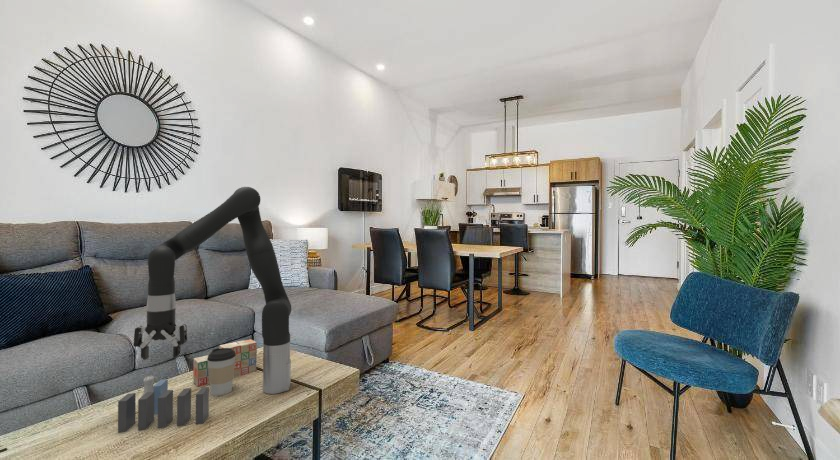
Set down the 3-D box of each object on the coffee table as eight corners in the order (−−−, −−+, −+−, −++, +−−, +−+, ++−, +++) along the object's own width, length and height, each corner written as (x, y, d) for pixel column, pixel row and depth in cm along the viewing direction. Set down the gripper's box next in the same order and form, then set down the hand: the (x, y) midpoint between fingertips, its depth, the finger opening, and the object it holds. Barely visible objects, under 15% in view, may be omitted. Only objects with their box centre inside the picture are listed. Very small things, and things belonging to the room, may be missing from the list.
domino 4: (190, 416, 112) (191, 388, 112) (184, 425, 107) (184, 395, 107) (183, 417, 111) (183, 388, 111) (176, 426, 106) (177, 396, 106)
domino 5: (208, 415, 113) (208, 386, 113) (203, 423, 108) (203, 393, 108) (201, 415, 112) (201, 387, 112) (195, 424, 107) (195, 394, 107)
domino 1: (135, 422, 108) (135, 393, 108) (126, 431, 103) (126, 400, 103) (127, 423, 108) (127, 393, 108) (117, 432, 103) (118, 401, 103)
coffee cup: (241, 387, 132) (241, 347, 132) (220, 398, 123) (220, 355, 123) (222, 384, 135) (222, 344, 135) (200, 394, 126) (201, 352, 126)
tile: (167, 406, 118) (167, 379, 118) (160, 414, 113) (160, 385, 113) (160, 406, 118) (160, 379, 117) (153, 414, 113) (153, 386, 113)
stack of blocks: (197, 387, 132) (197, 354, 132) (193, 382, 137) (193, 350, 136) (256, 371, 147) (256, 341, 147) (251, 367, 152) (251, 338, 152)
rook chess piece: (147, 404, 119) (148, 380, 119) (137, 402, 120) (137, 379, 120) (160, 397, 124) (160, 374, 124) (149, 396, 125) (149, 373, 124)
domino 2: (154, 420, 109) (154, 391, 109) (145, 429, 104) (146, 399, 104) (146, 421, 109) (146, 392, 109) (138, 430, 104) (138, 399, 104)
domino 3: (172, 418, 110) (173, 389, 110) (165, 427, 106) (165, 397, 106) (165, 419, 110) (165, 390, 110) (157, 428, 105) (157, 397, 105)
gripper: (190, 304, 121) (190, 352, 121) (142, 306, 117) (141, 355, 117) (181, 309, 113) (180, 360, 113) (129, 311, 110) (128, 364, 110)
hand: (160, 357), depth 115 cm, fingers open, 8 cm apart
